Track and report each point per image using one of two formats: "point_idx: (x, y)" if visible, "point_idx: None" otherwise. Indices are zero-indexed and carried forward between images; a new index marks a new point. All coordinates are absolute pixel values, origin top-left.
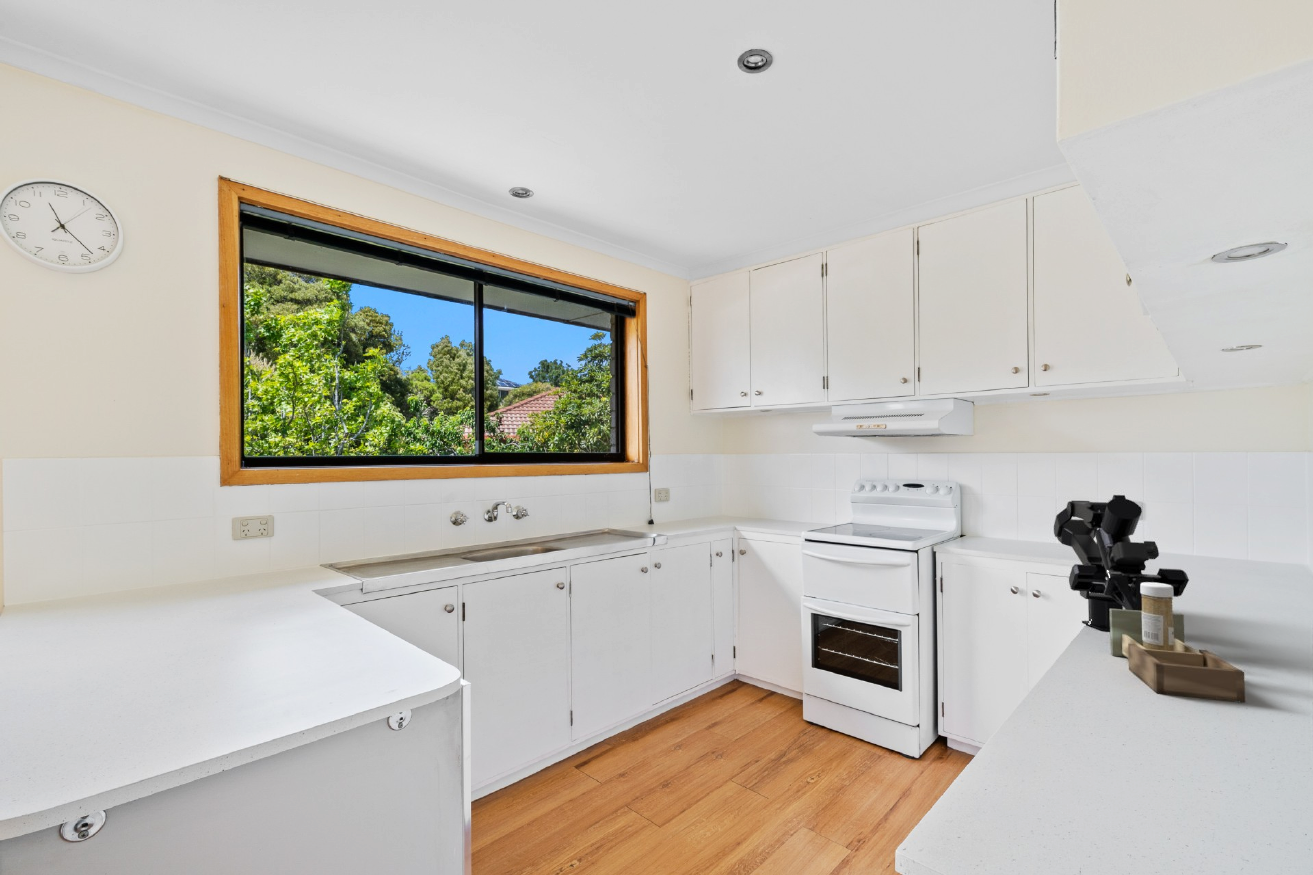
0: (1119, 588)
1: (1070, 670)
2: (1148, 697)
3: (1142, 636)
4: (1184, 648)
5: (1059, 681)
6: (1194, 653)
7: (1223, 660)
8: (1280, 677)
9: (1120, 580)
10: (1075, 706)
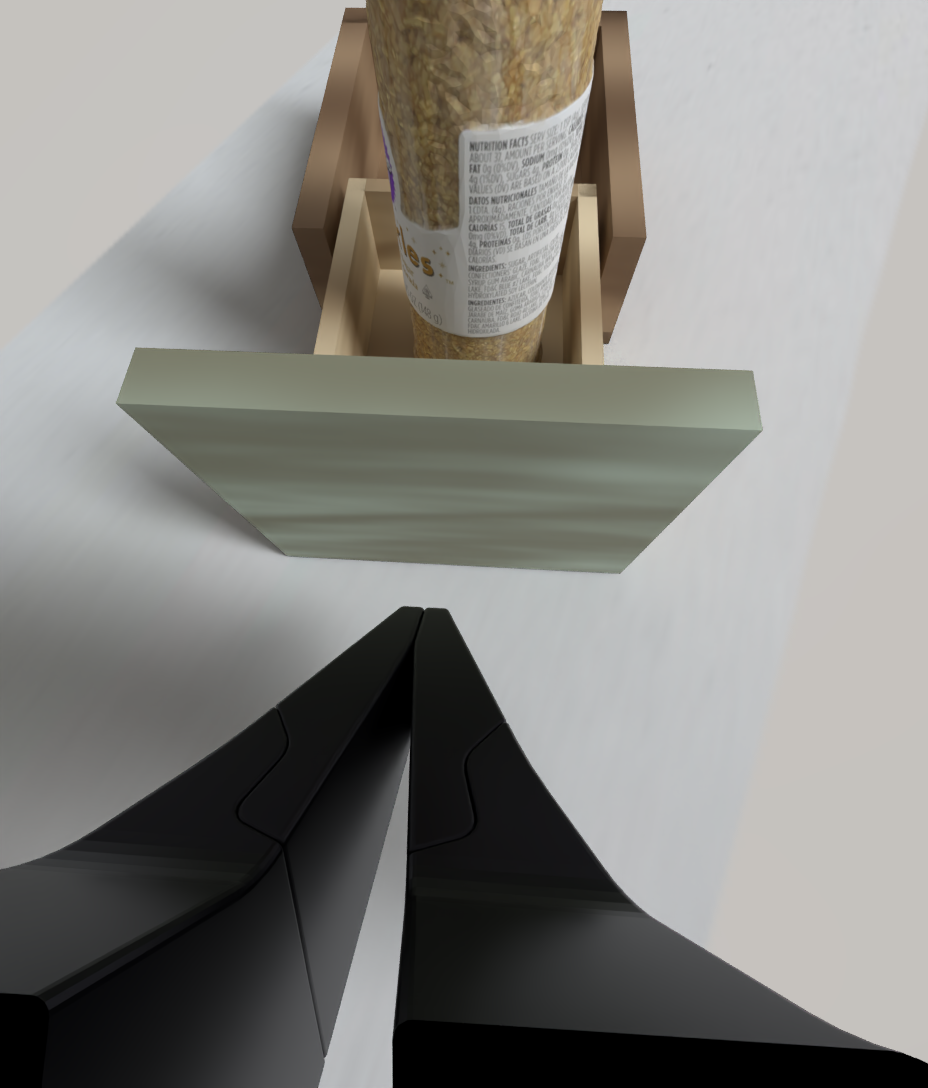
0: (621, 900)
1: (841, 276)
2: (635, 108)
3: (556, 271)
4: (348, 314)
5: (883, 162)
6: (378, 186)
7: (324, 105)
8: (12, 410)
9: (677, 1022)
10: (845, 16)
